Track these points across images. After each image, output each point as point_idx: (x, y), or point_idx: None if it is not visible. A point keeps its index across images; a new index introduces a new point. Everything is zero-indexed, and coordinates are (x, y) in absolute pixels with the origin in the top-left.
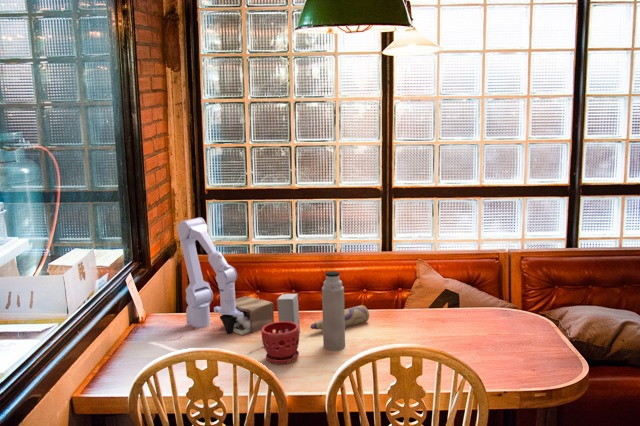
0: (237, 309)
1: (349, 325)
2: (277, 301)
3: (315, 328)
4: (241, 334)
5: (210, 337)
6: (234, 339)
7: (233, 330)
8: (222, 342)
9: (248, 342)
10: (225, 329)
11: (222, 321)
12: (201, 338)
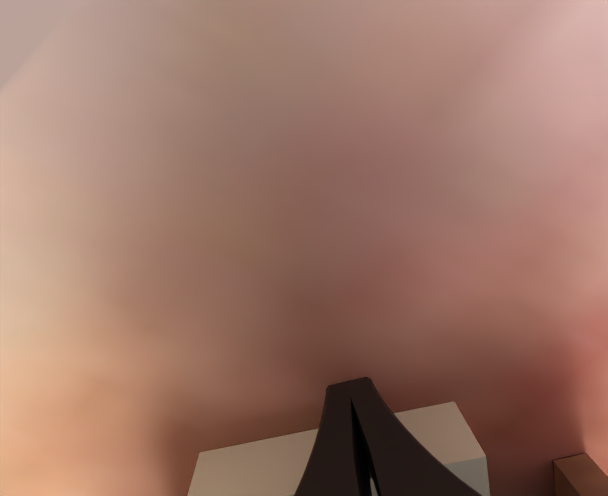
0: None
1: None
2: None
3: None
4: (204, 474)
5: (457, 178)
6: (188, 366)
7: None
8: (183, 214)
9: (9, 431)
10: (379, 401)
11: (459, 493)
12: (524, 54)
